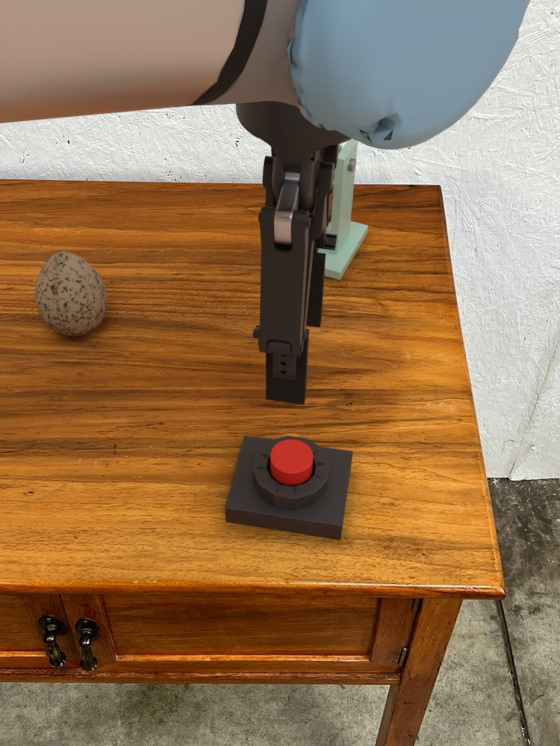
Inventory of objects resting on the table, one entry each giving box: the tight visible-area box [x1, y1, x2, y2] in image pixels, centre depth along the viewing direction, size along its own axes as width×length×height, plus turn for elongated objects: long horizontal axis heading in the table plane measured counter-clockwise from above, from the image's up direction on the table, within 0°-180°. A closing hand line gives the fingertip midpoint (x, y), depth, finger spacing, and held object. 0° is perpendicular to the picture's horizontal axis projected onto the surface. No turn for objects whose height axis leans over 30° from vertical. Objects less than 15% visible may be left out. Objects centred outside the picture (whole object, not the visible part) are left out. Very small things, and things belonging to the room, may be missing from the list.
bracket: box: [318, 139, 369, 281], centre depth 89 cm, size 10×8×14 cm
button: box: [270, 439, 313, 485], centre depth 66 cm, size 4×4×2 cm
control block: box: [224, 435, 354, 541], centre depth 68 cm, size 10×8×4 cm
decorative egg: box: [34, 250, 108, 337], centre depth 80 cm, size 7×7×10 cm
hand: (295, 358), depth 57 cm, fingers open, 7 cm apart
